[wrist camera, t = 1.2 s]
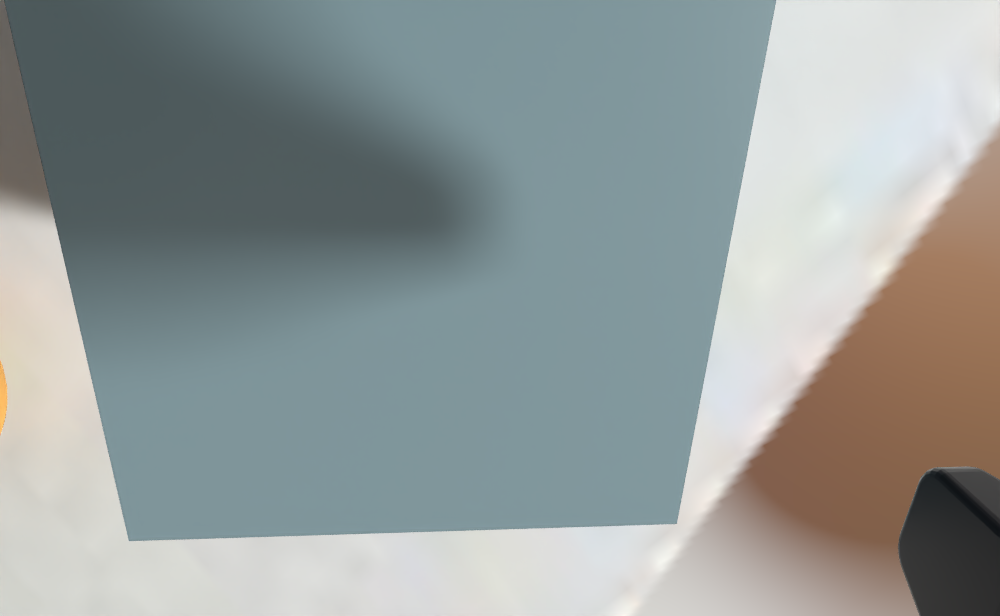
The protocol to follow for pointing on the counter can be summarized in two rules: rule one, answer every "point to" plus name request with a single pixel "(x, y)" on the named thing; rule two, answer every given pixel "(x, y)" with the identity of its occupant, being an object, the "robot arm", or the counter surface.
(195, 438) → the grey-blue slanted prism
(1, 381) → the ball
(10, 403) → the counter surface
